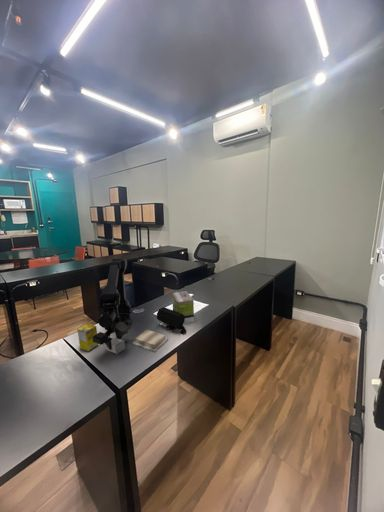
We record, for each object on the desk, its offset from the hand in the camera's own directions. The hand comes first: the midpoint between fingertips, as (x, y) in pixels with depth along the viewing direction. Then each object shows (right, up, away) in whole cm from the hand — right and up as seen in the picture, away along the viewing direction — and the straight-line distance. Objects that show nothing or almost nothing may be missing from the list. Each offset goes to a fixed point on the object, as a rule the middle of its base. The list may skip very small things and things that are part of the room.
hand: (114, 346), depth 103 cm
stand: (+16, 0, +5) cm, 17 cm away
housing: (0, -1, 0) cm, 1 cm away
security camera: (+26, +2, +17) cm, 32 cm away
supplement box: (-13, -1, +1) cm, 13 cm away
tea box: (+32, +5, +29) cm, 43 cm away
